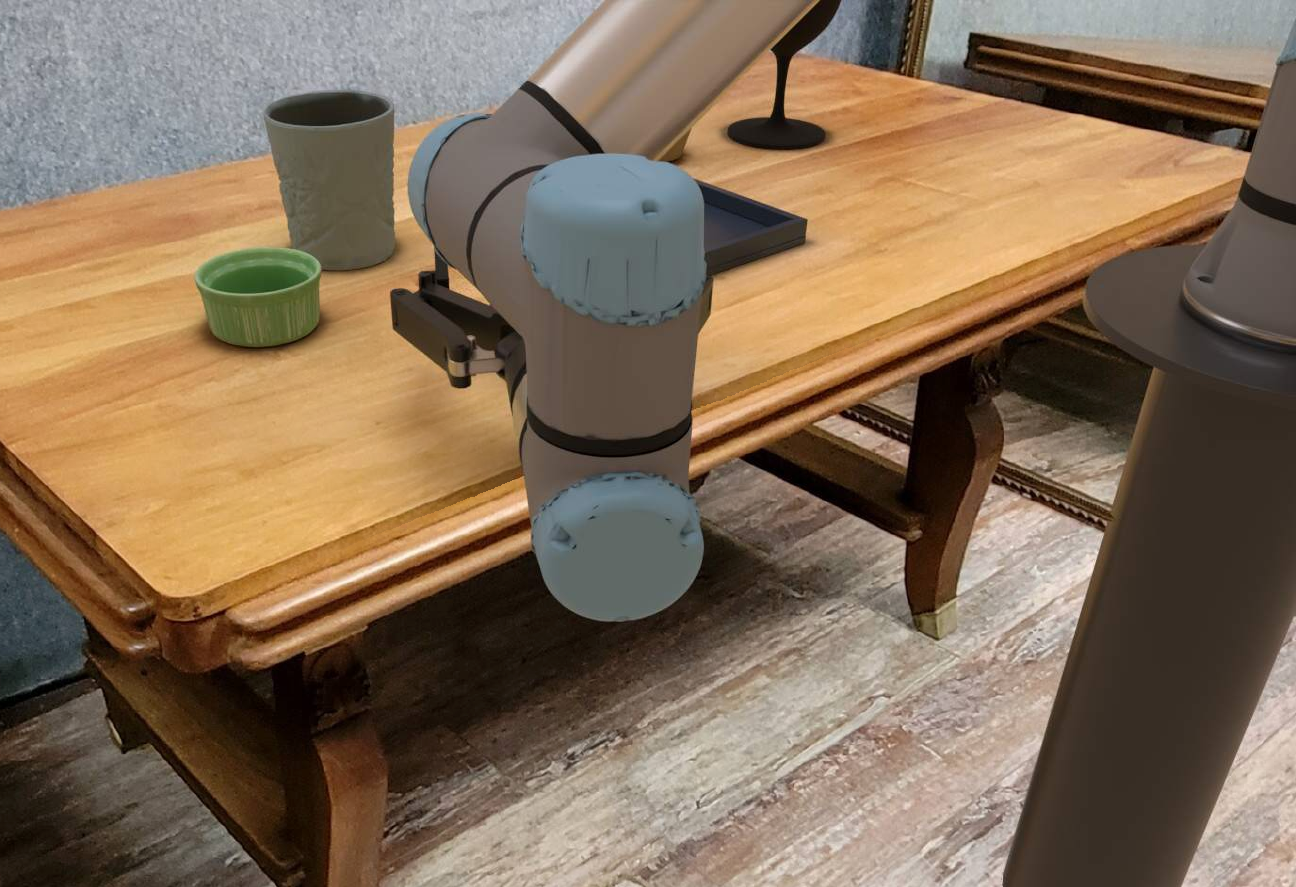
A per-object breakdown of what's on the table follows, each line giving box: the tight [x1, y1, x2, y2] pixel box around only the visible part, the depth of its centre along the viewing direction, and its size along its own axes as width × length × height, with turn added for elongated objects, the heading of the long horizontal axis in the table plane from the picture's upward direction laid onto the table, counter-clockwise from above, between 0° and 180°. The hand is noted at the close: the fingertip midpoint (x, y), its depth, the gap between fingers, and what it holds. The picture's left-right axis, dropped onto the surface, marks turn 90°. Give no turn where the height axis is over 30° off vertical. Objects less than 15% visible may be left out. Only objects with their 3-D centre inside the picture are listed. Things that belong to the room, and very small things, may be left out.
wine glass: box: [726, 0, 842, 150], centre depth 127 cm, size 10×10×20 cm
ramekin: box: [193, 246, 322, 348], centre depth 91 cm, size 9×9×4 cm
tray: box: [692, 177, 809, 276], centre depth 107 cm, size 18×16×2 cm
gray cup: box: [262, 89, 396, 271], centre depth 101 cm, size 10×10×12 cm
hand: (540, 256), depth 85 cm, fingers open, 13 cm apart
